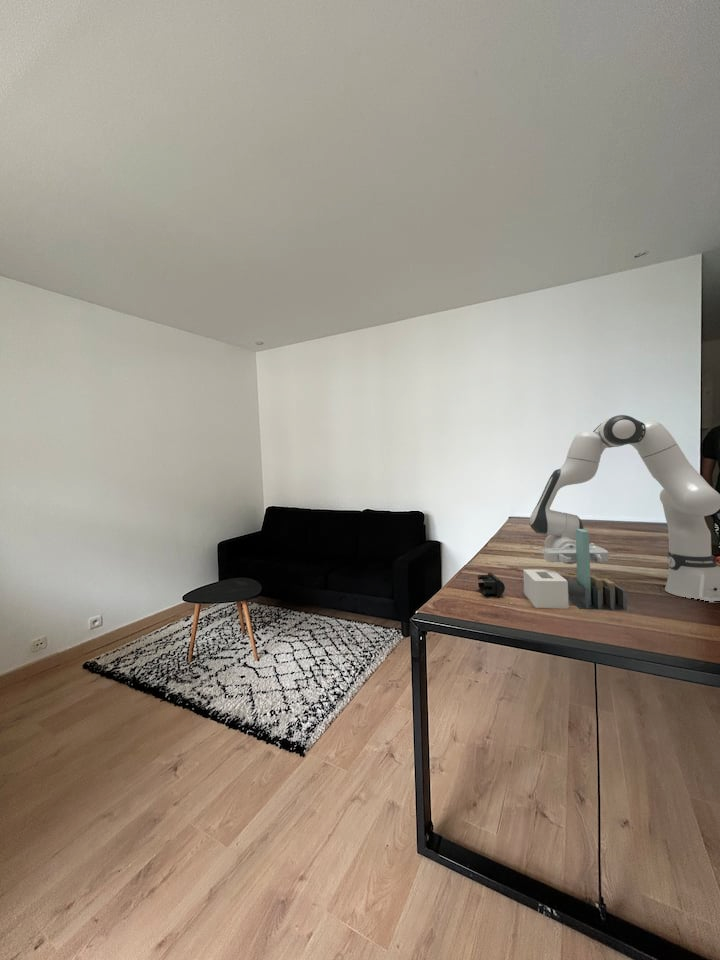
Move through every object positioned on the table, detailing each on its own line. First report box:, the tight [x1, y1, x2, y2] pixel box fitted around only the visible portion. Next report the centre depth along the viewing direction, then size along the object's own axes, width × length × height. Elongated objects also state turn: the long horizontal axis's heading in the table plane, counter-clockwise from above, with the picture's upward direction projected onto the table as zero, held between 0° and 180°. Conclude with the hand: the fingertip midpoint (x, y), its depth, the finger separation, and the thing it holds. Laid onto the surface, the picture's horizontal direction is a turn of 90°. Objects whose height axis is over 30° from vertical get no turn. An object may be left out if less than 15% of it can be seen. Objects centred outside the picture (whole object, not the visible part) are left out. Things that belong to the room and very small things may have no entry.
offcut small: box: [600, 577, 616, 605], centre depth 122 cm, size 2×6×7 cm, turn 170°
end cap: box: [477, 572, 506, 598], centre depth 138 cm, size 10×7×7 cm
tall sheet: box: [575, 528, 591, 604], centre depth 123 cm, size 2×6×24 cm, turn 170°
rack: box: [567, 576, 635, 611], centre depth 122 cm, size 16×15×7 cm
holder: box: [522, 569, 570, 609], centre depth 125 cm, size 10×14×10 cm
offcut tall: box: [590, 574, 603, 605], centre depth 122 cm, size 2×6×8 cm, turn 170°
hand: (584, 560), depth 122 cm, fingers open, 8 cm apart
